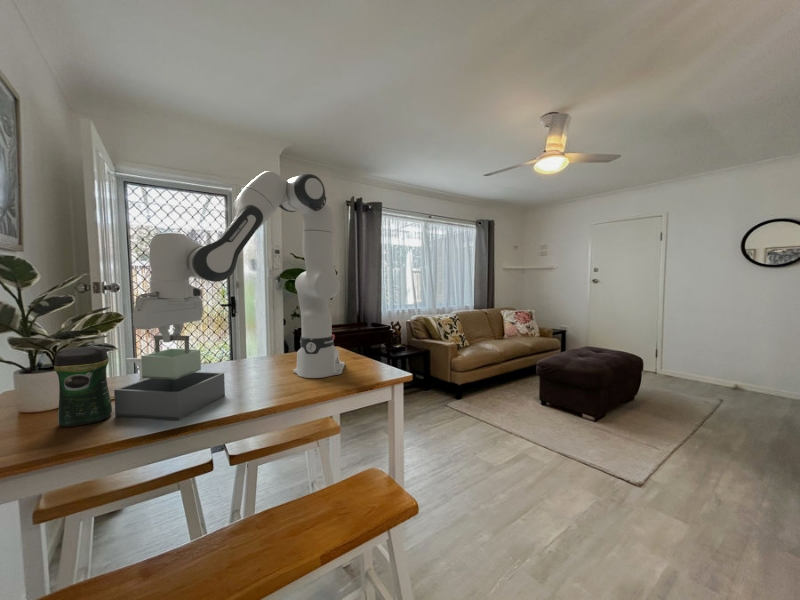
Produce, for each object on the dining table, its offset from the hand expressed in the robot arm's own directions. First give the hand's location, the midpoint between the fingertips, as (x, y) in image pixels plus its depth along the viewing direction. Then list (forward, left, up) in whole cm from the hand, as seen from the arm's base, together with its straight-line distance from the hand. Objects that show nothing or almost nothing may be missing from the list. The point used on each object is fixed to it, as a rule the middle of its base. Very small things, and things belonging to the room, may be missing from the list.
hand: (171, 341), depth 92 cm
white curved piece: (-6, -16, -19) cm, 25 cm away
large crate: (0, 0, -18) cm, 18 cm away
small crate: (0, 0, -9) cm, 9 cm away
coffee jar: (+12, -14, -19) cm, 26 cm away
